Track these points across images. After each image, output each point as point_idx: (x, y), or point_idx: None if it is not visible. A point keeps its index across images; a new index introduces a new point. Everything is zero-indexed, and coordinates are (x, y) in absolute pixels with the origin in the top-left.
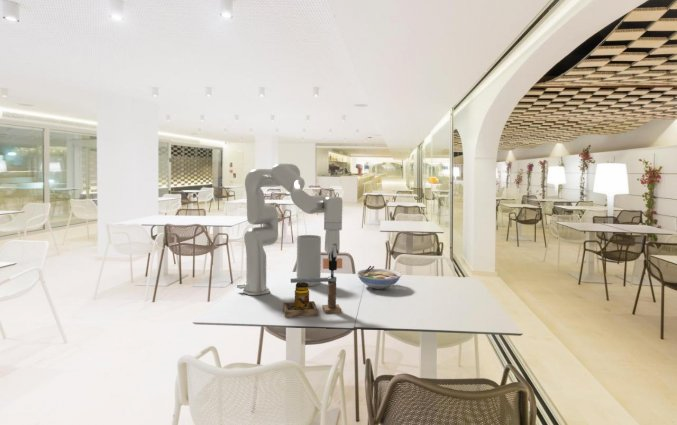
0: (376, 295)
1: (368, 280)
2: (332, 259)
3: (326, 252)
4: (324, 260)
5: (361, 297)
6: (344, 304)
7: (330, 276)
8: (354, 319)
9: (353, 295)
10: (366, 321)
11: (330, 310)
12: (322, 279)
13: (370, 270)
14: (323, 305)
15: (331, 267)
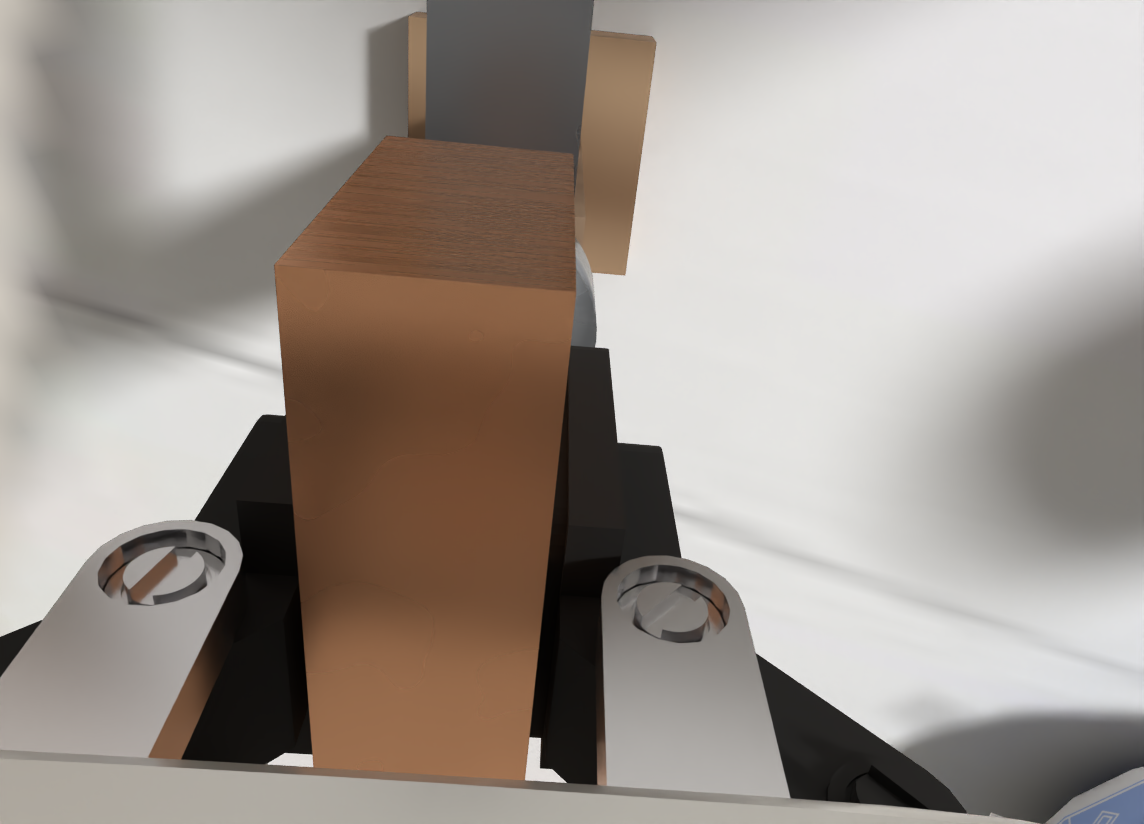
0: (905, 729)
1: (1134, 815)
2: (3, 657)
3: (40, 763)
4: (301, 300)
5: (906, 597)
6: (727, 365)
7: (588, 315)
8: (163, 318)
9: (1017, 548)
10: (98, 414)
11: (411, 103)
12: (430, 48)
13: None
14: (626, 52)
15: (258, 422)
